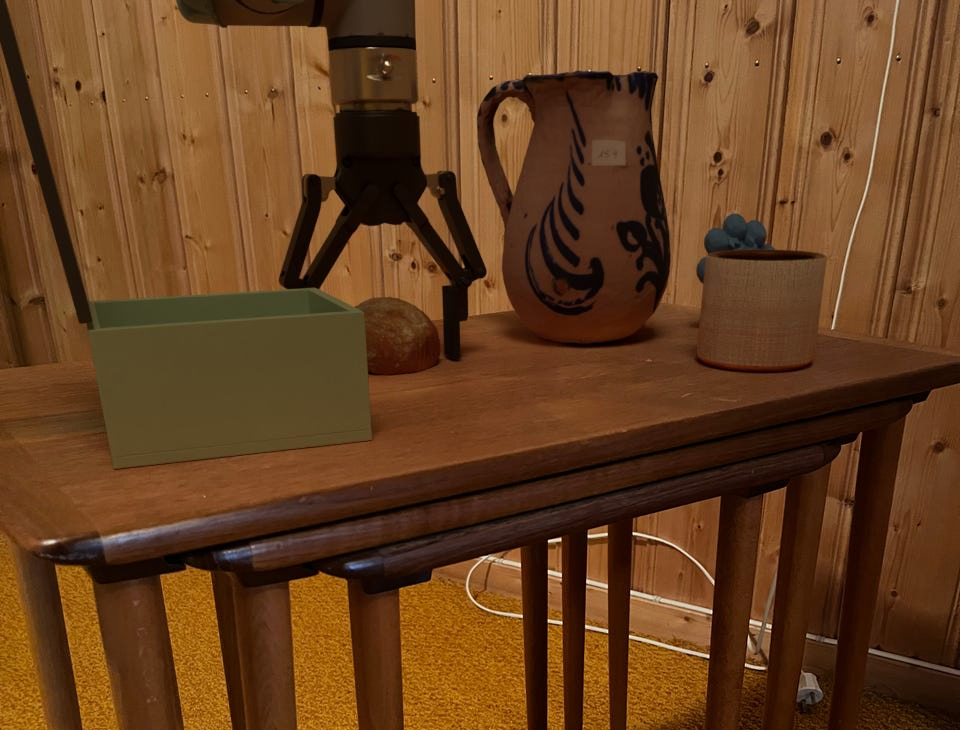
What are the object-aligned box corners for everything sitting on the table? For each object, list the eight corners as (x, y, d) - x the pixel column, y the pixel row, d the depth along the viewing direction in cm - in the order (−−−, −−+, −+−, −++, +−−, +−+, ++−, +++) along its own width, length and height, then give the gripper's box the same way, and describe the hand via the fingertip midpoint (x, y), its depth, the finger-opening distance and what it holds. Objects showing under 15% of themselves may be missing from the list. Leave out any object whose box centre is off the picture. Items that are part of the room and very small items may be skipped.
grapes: (720, 337, 105) (731, 217, 100) (678, 329, 110) (687, 214, 105) (797, 327, 110) (812, 212, 105) (754, 319, 116) (766, 209, 110)
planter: (820, 355, 95) (835, 250, 91) (804, 377, 87) (820, 262, 82) (709, 348, 99) (718, 247, 95) (684, 368, 91) (692, 258, 86)
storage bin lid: (5, -1, 63) (-8, 0, 63) (-7, -39, 51) (-23, -38, 51) (86, 294, 72) (75, 296, 72) (92, 322, 60) (79, 324, 60)
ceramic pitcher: (650, 356, 96) (668, 62, 85) (449, 347, 102) (441, 72, 91) (676, 328, 111) (694, 75, 100) (499, 321, 117) (498, 82, 106)
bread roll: (334, 399, 97) (299, 328, 91) (400, 341, 101) (370, 270, 96) (402, 414, 91) (369, 340, 85) (469, 352, 95) (442, 276, 89)
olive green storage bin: (325, 398, 82) (315, 287, 78) (372, 440, 70) (364, 311, 66) (104, 419, 76) (82, 301, 72) (113, 469, 64) (87, 330, 60)
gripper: (241, 107, 78) (271, 380, 87) (521, 107, 85) (520, 358, 95) (227, 111, 84) (256, 365, 94) (489, 110, 92) (491, 345, 101)
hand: (389, 362), depth 94 cm, fingers open, 12 cm apart
